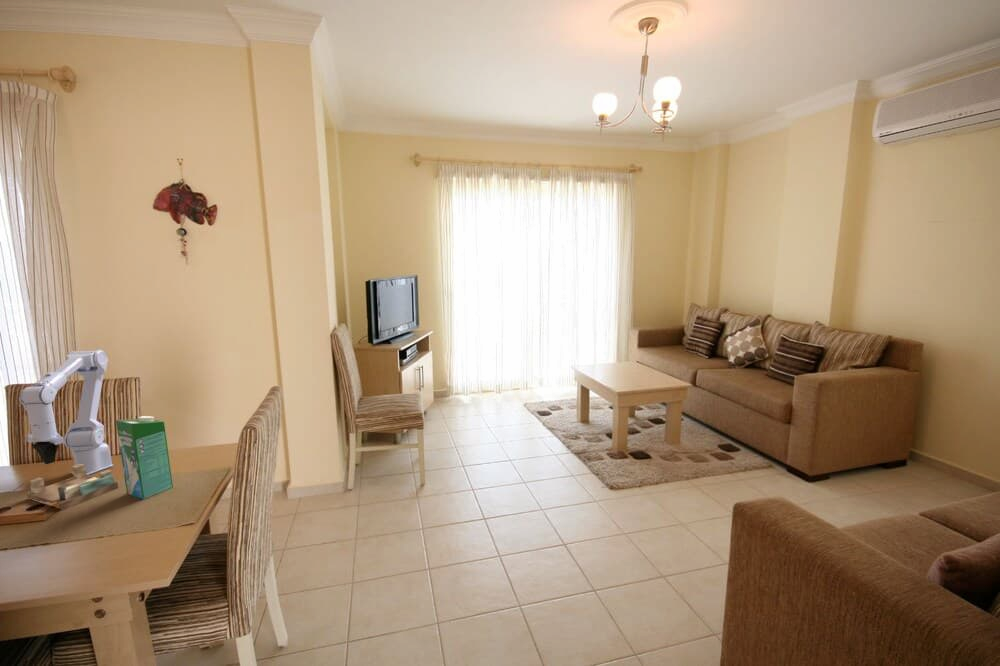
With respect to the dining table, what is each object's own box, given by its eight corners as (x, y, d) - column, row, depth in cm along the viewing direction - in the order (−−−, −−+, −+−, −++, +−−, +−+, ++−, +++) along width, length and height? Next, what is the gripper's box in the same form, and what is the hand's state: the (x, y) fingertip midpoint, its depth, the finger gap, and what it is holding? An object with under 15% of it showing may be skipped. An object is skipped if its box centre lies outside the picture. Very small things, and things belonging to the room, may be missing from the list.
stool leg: (62, 500, 141) (60, 489, 140) (57, 499, 142) (55, 487, 141) (100, 486, 150) (98, 475, 149) (95, 485, 151) (94, 474, 150)
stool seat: (84, 478, 160) (81, 462, 159) (118, 487, 153) (115, 470, 152) (28, 499, 147) (24, 481, 146) (61, 509, 139) (58, 491, 138)
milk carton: (173, 486, 153) (163, 414, 149) (142, 499, 145) (131, 423, 141) (157, 482, 156) (147, 411, 153) (126, 494, 148) (115, 420, 145)
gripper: (12, 424, 146) (20, 465, 148) (40, 429, 141) (48, 470, 143) (40, 417, 152) (47, 456, 154) (68, 421, 147) (75, 461, 150)
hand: (49, 462), depth 149 cm, fingers closed
